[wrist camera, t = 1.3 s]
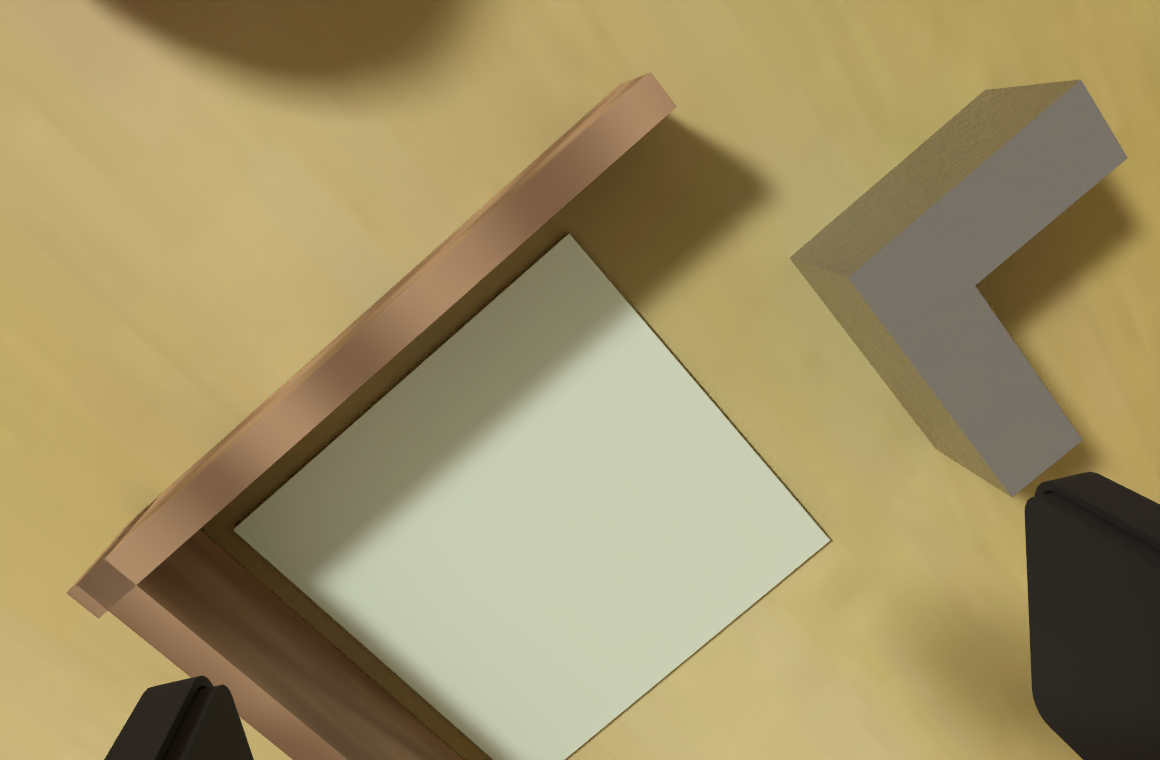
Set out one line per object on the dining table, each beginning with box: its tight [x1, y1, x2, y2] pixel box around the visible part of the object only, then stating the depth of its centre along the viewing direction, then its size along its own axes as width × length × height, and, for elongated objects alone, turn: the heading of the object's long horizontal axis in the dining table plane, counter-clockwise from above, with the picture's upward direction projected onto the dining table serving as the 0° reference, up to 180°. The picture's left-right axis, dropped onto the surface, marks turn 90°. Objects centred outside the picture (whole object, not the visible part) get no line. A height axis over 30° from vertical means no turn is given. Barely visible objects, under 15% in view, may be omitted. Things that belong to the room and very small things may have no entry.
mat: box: [233, 233, 830, 760], centre depth 33 cm, size 16×16×1 cm
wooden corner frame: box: [67, 73, 677, 760], centre depth 30 cm, size 23×20×5 cm
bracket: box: [790, 80, 1127, 497], centre depth 30 cm, size 10×9×5 cm
